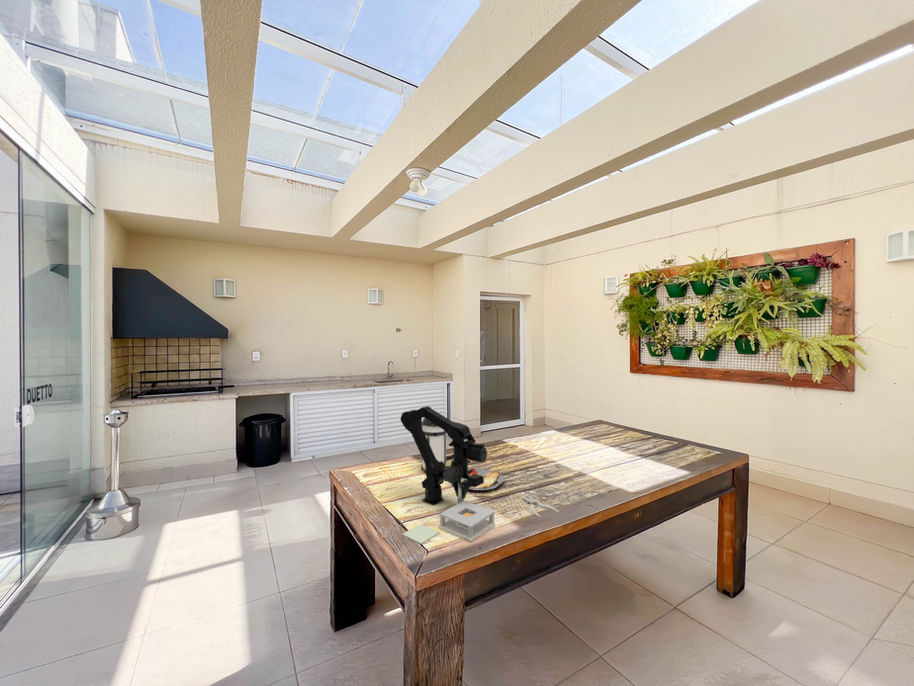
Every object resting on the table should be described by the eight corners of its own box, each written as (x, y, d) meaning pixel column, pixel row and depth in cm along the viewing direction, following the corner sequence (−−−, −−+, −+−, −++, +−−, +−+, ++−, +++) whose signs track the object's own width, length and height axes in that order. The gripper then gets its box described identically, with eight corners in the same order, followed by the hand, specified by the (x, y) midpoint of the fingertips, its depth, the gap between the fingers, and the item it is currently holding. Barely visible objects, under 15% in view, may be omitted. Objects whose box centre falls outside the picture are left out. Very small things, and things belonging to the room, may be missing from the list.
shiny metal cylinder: (456, 508, 144) (456, 482, 144) (460, 505, 146) (460, 480, 146) (461, 509, 143) (461, 484, 143) (465, 507, 144) (465, 482, 144)
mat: (402, 535, 124) (402, 533, 124) (421, 524, 131) (421, 523, 131) (421, 544, 118) (421, 543, 118) (439, 533, 125) (439, 532, 125)
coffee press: (440, 478, 175) (440, 416, 175) (413, 472, 183) (413, 412, 183) (458, 468, 190) (458, 410, 190) (432, 463, 198) (432, 407, 198)
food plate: (469, 469, 188) (469, 462, 188) (511, 478, 176) (511, 471, 176) (442, 487, 166) (442, 479, 166) (488, 499, 154) (488, 491, 154)
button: (461, 519, 129) (461, 515, 129) (466, 516, 132) (466, 512, 132) (467, 522, 128) (467, 518, 128) (472, 519, 130) (472, 515, 130)
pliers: (539, 514, 136) (515, 498, 150) (539, 518, 136) (515, 502, 150) (559, 509, 141) (535, 494, 154) (559, 513, 141) (535, 498, 154)
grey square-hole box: (439, 527, 129) (439, 513, 129) (464, 513, 139) (464, 500, 139) (471, 541, 120) (471, 526, 120) (494, 525, 131) (494, 511, 131)
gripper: (429, 458, 144) (429, 498, 144) (466, 468, 132) (466, 511, 132) (447, 451, 153) (447, 489, 153) (484, 461, 141) (484, 501, 141)
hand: (460, 497), depth 144 cm, fingers closed on shiny metal cylinder, 2 cm apart
